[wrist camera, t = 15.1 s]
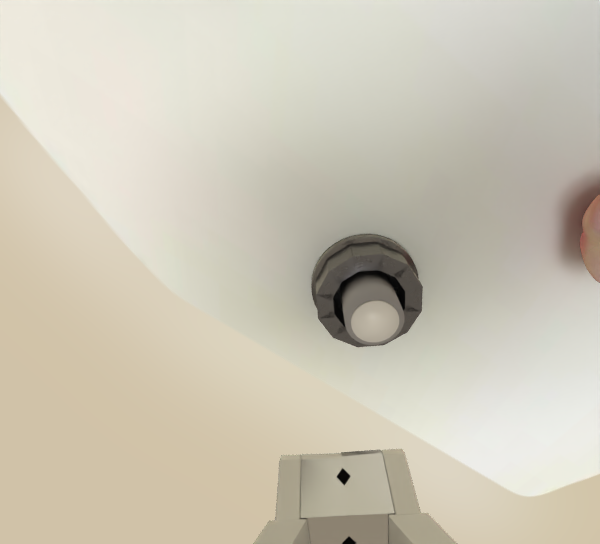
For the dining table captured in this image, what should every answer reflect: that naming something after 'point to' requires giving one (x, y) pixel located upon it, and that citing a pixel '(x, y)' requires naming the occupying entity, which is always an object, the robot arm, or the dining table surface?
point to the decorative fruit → (591, 239)
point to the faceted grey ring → (355, 258)
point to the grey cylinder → (371, 307)
